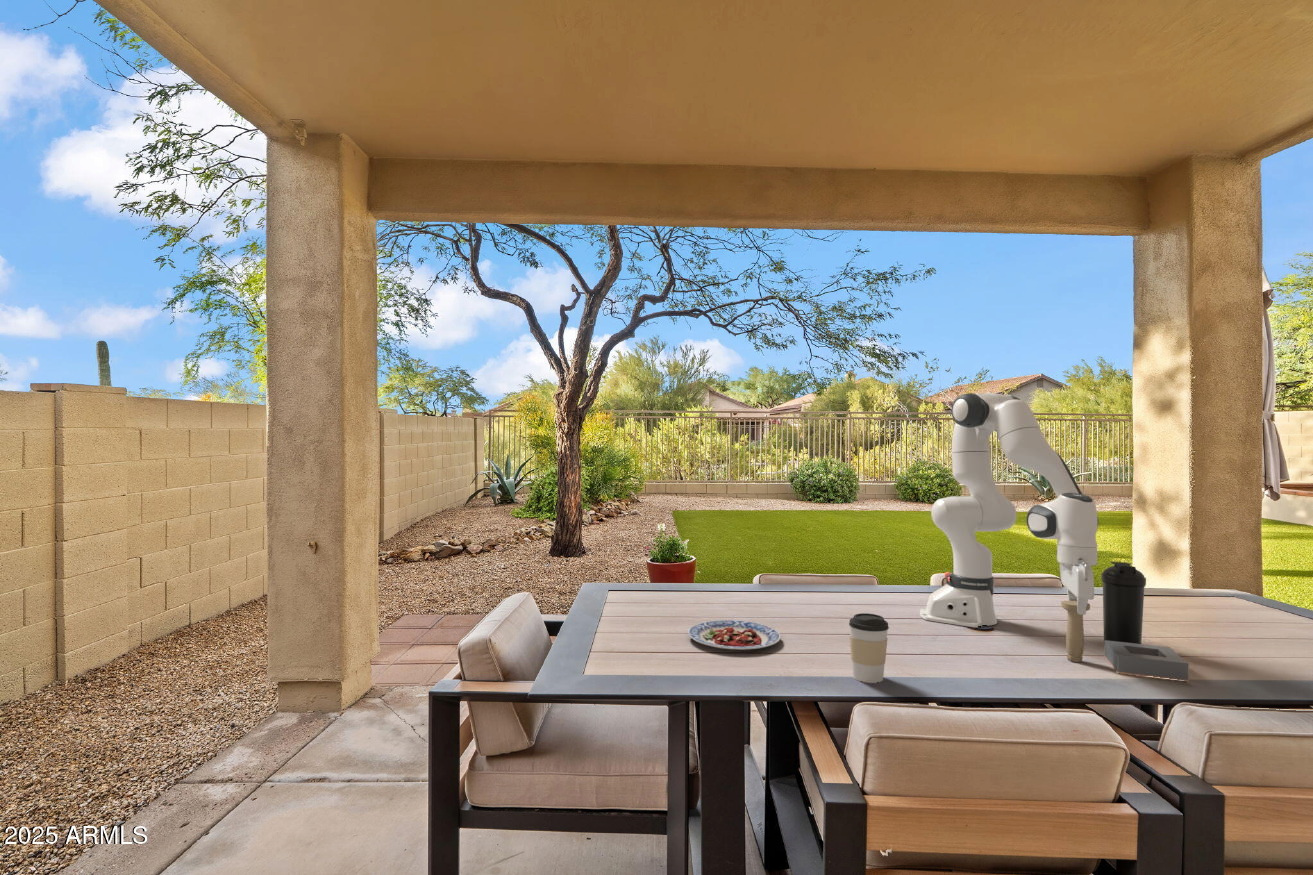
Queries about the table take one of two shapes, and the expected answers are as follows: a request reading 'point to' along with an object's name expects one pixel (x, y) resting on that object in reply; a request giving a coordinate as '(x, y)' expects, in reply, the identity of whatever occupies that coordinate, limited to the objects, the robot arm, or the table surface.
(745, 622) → the ceramic plate
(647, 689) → the table surface
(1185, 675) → the socket block
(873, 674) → the coffee cup
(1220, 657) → the table surface
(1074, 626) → the handle
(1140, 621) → the water bottle
